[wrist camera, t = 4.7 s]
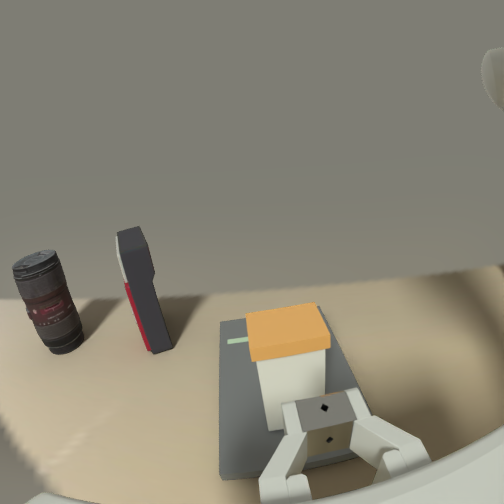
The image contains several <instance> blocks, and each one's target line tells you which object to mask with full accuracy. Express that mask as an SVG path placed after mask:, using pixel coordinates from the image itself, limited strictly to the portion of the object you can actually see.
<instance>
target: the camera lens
mask: <svg viewBox="0 0 504 504" xmlns="http://www.w3.org/2000/svg"><path fill="white" fill-rule="evenodd" d="M12 269H13V274H14V279H15V282H16V285H17V287H18V290H19V293H20V295H21V297H22V299H23V301H24V302H25V304H26V311H27V314H28V316H29V318H30V319H31V320H32V321H33V324H34V326H35V329H36V331H37V333H38V335H39V336H40V338H41V339H42V341H43V343H44V344H45V346H47V347H49V349H50V351H51V352H52V353H53V354H58V355H59V354H65V353H68V352H71V351H72V350H74V349H76V348H77V347H78V346H79V345H80V344H81V343H82V341H83V339H84V335H83V332H82V324H81V321H80V318H79V315H78V312H77V310H76V307H75V305H74V303H73V301H72V298H71V295H70V292H69V290H68V287H67V283H66V279H65V275H64V272H63V269H62V266H61V263H60V260H59V258H58V256H57V254H56V251H54V250H44V251H40V252H37V253H34V254H31V255H28V256H26V257H24V258H22V259H20V260H19V261H17V262H16V263H15V264H14V265H13V266H12Z"/></svg>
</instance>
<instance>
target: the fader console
mask: <svg viewBox="0 0 504 504" xmlns="http://www.w3.org/2000/svg"><path fill="white" fill-rule="evenodd" d="M317 308H318V310H319V312H320V314H321V316H322V318H323V320H324V322H325V324H326V326H327V329H328V331H329V333H330V348H327V349H325V395H326V394H330V393H335V392H339V391H344V390H348V389H352V388H356V387H357V388H358V389H359V391H360V393H361V395H362V397H363V399H364V402H365V404H366V406H367V408H368V410H369V412H370V414H371V416H373V415H372V413H371V411H370V409H369V406H368V404H367V402H366V400H365V398H364V396H363V394H362V392H361V390H360V388H359V385H358V383H357V381H356V379H355V377H354V375H353V373H352V371H351V369H350V367H349V365H348V363H347V361H346V359H345V357H344V355H343V352H342V350H341V348H340V346H339V344H338V342H337V340H336V338H335V336H334V334H333V332H332V330H331V328H330V326H329V324H328V322H327V320H326V318H325V316H324V314H323V313H322V311H321V309H320V307H319V306H317ZM284 436H285V433H284V429H280V430H274V431H269V430H268V425H267V419H266V414H265V408H264V403H263V397H262V392H261V386H260V380H259V375H258V369H257V363H256V361H255V362H252V360H251V355H250V350H249V341H248V332H247V323H246V318H244V319H237V320H230V321H223V322H220V360H219V475H220V477H221V479H222V480H235V479H245V478H255V477H260V476H261V474H262V473H263V471H264V470H265V468H266V466H267V465H268V463H269V461H270V459H271V458H272V456H273V454H274V453H275V451H276V449H277V447H278V446H279V444H280V442H281V440H282V438H283V437H284ZM356 457H360V456H359V455H357V454H356V453H355V452H353V451H352V450H351V449H350V447H349V448H345V449H340V450H336V451H331V452H327V453H323V454H318V455H314V456H310V457H307V460H306V462H305V465H304V467H303V469H302V470H306V469H311V468H315V467H320V466H325V465H329V464H333V463H337V462H341V461H345V460H349V459H352V458H356Z"/></svg>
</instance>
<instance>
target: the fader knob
mask: <svg viewBox="0 0 504 504" xmlns="http://www.w3.org/2000/svg"><path fill="white" fill-rule="evenodd" d="M246 323H247V332H248V341H249V350H250V355H251V360H252V362H255V361H256V363H257V369H258V375H259V380H260V386H261V392H262V397H263V403H264V408H265V414H266V419H267V425H268V430H269V431H274V430H280V429H284V427H283V419H282V408H281V403H282V402H289V401H295V400H301V399H307V398H313V397H318V396H321V395H325V349H327V348H330V333H329V331H328V329H327V326H326V324H325V322H324V320H323V318H322V316H321V314H320V312H319V310H318V308H317V306H316V304H315V302H312V303H306V304H301V305H295V306H289V307H283V308H277V309H271V310H265V311H258V312H252V313H246Z"/></svg>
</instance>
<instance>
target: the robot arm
mask: <svg viewBox="0 0 504 504" xmlns="http://www.w3.org/2000/svg"><path fill="white" fill-rule="evenodd" d="M481 76H482V81H483V85H484V87H485V90H486V92H487V94H488V95H489V97H490V98H491V100H492V101H493V102H494V103H495V104H496V105H497V107H499V108H500V109H501V110H502V111H503V112H504V47H502V48H496V49H491V50H488V52H487V53H486V54H485V56H484V58H483V61H482V65H481ZM281 408H282V419H283V427H284V433H285V436H284V437H283V438H282V440H281V442H280V444H279V446H278V447H277V449H276V451H275V453H274V454H273V456H272V458H271V459H270V461H269V463H268V465H267V466H266V468H265V470H264V471H263V473H262V474H261V476H260V478H259V479H258V480H259V490H260V499H261V504H504V424H503V425H502V426H500V427H498V428H497V429H495V430H494V431H492V432H490V433H488V434H487V435H485V436H483V437H482V438H480V439H478V440H476V441H474V442H473V443H471V444H469V445H467V446H465V447H463V448H461V449H459V450H457V451H455V452H453V453H451V454H449V455H447V456H445V457H443V458H441V459H438V460H436V461H434V462H432V460H431V459H430V457H429V455H428V453H427V451H426V449H425V447H424V446H423V444H422V442H421V440H420V439H418V438H417V437H415V436H413V435H411V434H409V433H407V432H405V431H403V430H401V429H399V428H397V427H396V426H394V425H392V424H390V423H388V422H386V421H385V420H383V419H381V418H379V417H377V416H375V415H374V416H371V414H370V412H369V410H368V408H367V406H366V404H365V402H364V399H363V397H362V395H361V393H360V391H359V389H358V388H357V387H356V388H352V389H348V390H344V391H339V392H335V393H330V394H326V395H321V396H318V397H313V398H307V399H301V400H295V401H289V402H282V403H281ZM349 447H350V449H351V450H352V451H353V452H355V453H356V454H357V455H359V456H360V457H361V458H362V459H364V460H365V461H366V462H368V463H369V464H370V465H372V466H373V467H374V468H376V469H377V472H376V475H375V477H374V480H373V482H372V485H370V486H367V487H363V488H360V489H356V490H353V491H349V492H345V493H341V494H337V495H333V496H329V497H325V498H320V499H315V500H312V496H311V492H310V488H309V484H308V480H307V476H306V475H303V474H301V472H302V469H303V467H304V465H305V462H306V460H307V457H310V456H314V455H318V454H323V453H327V452H331V451H336V450H340V449H345V448H349ZM25 504H99V503H94V502H88V501H83V500H79V499H74V498H70V497H66V496H62V495H58V494H54V493H50V492H43V493H41V494H39V495H37V496H35V497H34V498H32V499H30V500H29V501H27V502H26V503H25Z"/></svg>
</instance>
